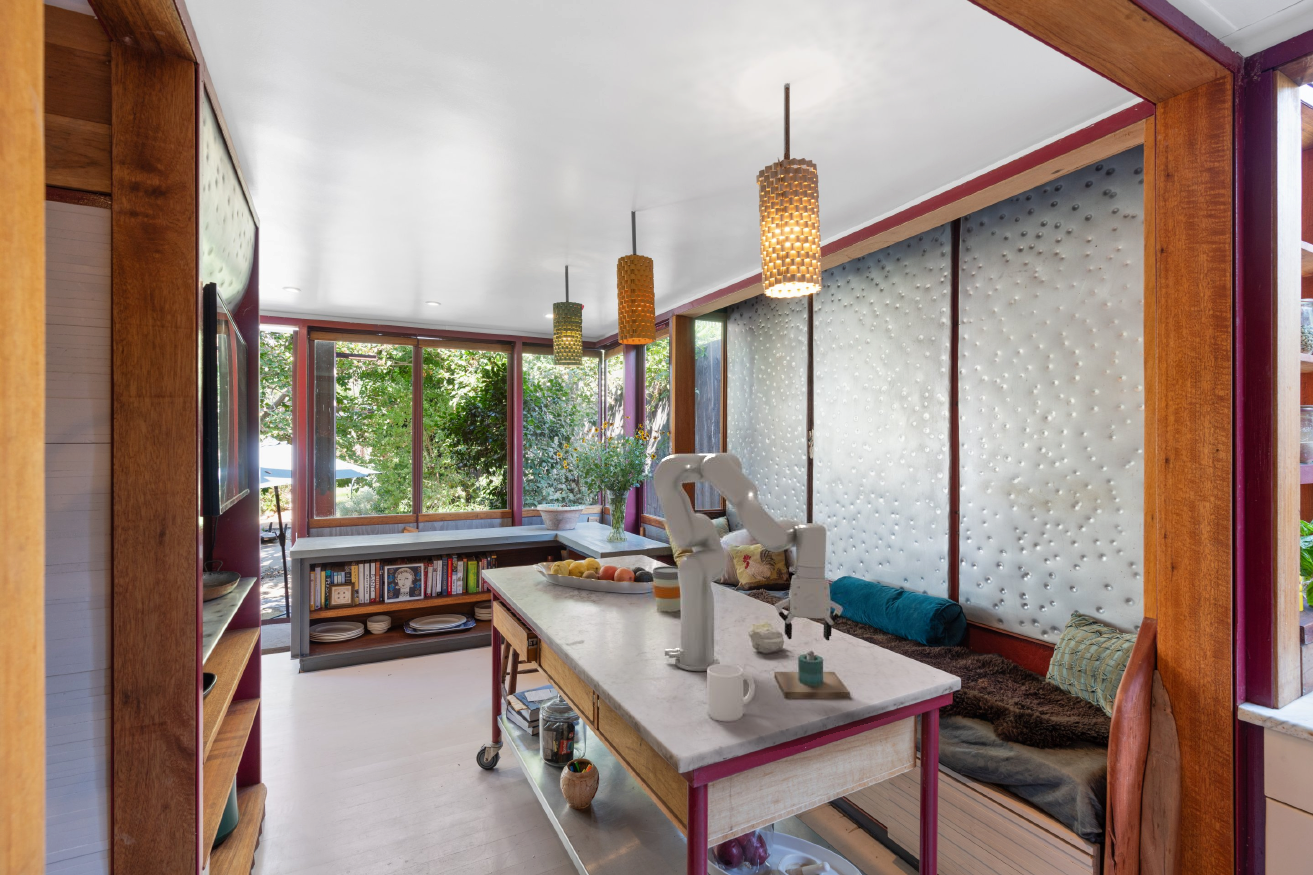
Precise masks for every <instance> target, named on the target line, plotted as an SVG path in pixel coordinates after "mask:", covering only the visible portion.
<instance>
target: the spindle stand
mask: <svg viewBox="0 0 1313 875" xmlns="http://www.w3.org/2000/svg"><path fill="white" fill-rule="evenodd" d="M806 654H807V660H814V655H815V652H814V651H813V650H808V651H807V653H806ZM773 673H774V679H775V681H776V683H777V686H778V687H779V689H780V691H781V693H782V695H783V697H784V699H851V691H850V690H849V689H848V688H847V686H846V685H845V684H844V682H843V681H842V680H841V679H840V677H839V676H838V675H837V673H836V672H835V671H823V684H822V685H818V686H808V685H804V684H802V683H800V682H799V681H798V671H774V672H773Z"/></svg>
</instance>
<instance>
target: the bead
mask: <svg viewBox="0 0 1313 875" xmlns="http://www.w3.org/2000/svg"><path fill="white" fill-rule="evenodd" d="M797 662H798V664H797V665H798V670H797V672H798V681H799V682H800V683H802V684H804V685H808V686H818V685H822V684H823V672H824V658H823V657H822V656H820V655H817V654H814V660H807V653H804V654H801V655H799V656H798V658H797Z"/></svg>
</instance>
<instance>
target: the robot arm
mask: <svg viewBox="0 0 1313 875" xmlns="http://www.w3.org/2000/svg"><path fill="white" fill-rule="evenodd" d="M742 471H743V465H742V462H741V460H740V459H739V458H738V457H737V456H736V455H735V454H733V453H730V452H713V453H675V454H674V453H673V454H670V455H667V456H666V457H664V458H663V459H661V461H660V462H659V463H658V464H657V465H656V468H655V471H654V474H653V487H654V490H655V493H656V495H657V498H658V501H659V504H660V506H661V510H662V513H663V516H664V520H665V523H666V525H667V529H668V532H669V535H670V538H671V540H672V542H673V544H674V545H675V547H677V548H678V549H680V550H689V549H692V552H690V553H688V554H687V555H685V556H684V557H682V558H681V560H680V561H679V563H678V566H677V567H678V580H679V585H680V597H681V608H680V644H679V645H678V647H675V648H674V649H673V648H665V649H664V656H665V657H667V656H668V658H669V659H672V658H675V659H674V664H675V665H676V667H678V668H679V669H682V670H686V671H690V672H691V671H692V672H707V669H708V667H710V666H712V665H716V664H721V663H720V658H719V657H717V656H715V598H714V597H715V596H714V592H713V588H712V583H713V582H716V581H717V580H719V579H721V578H722V577H723V576H724V575H725V574H726V572H727V571H726V570H727V562H728V561H727V558H726V554H725V552H724V548H723V545H722V543H721V540H720V536H719V533H718V531H717V528H716V526H715V524H714V522H713V521H712V519H711V518H710V517H708V516H707V515H706V514H703V513H698V512H697V513H695V510H694V509H693V506H692V503H691V499H690V497H689V495H688V494H687V492H686V491H685V488H683V483H684V484H687V483H709V484H710V485H711V486H712V487H713V488H714V489H715V490H716V491H717V492H718V493H719V494H720V495H721V496H722V498H724V500H726V502H728V503H729V504H730V506H732V508H733V509H734V510H735V513H736V515H737V517H738V519H739V521H740V522H741V525H742V526H743V528H744V529H745V530H746V531H747V533H748V534H749V535H750V536H751V537H752V538H753V539H754V540H755V541H756V542H757V543H758V544H759V545H760V546H762V548H764V549H766V550H767V551H770V552H772V553H778V552H781V551H782V552H783V551H784V550H788V549H791V548H795V558H794V561H795V563H794V565H793V566H789V569H788V570H789V573H793V574H794V575H792V576H791V581H790V585H789V591H788V598H786V599H785V598H784V599H783V600H781V601H779V602H777V603H775V604H774V607H775V609H776V612H777V614H778V615H779V617H780V618H781V619H782V620H783V621H784V635H785V636H786V637H787V639H788V640H792V638H793V624H792V621H793V620H794V619H795V618H796V619H797V618H799V619H824V620H825V621H824V622H823V633H822V634H823V638H824V639H825V640H826V641H827V642H829V641H830V637H832V628H833V625H834V623H835V622H836V621H837V620H838V619H839V618H840V615H841V614H842V612H843V611H844V608H843V607H842V606H841V605H839V604H837V603H836V602H835V601H832V600H831V593H830V592H831V591H830V590H831V589H830V582H829V579H828V578H827V577H826V558H827V557H826V553H827V550H826V549H827V528H826V526H824V525H822V524H819V523H814V522H813V523H811V522H809V523H808V522H807V523H805V522H799V521H795V520H792V519H780V520H775V519H774V518H773V517H772V516H771V515H770V514H769V513H768V512H767V511H766V510H765V509H764V508H763V505H761V502H760V500H759V496H758V493H759V492H758V491H759V489H758V486H757V485H756V484H755V483H753V481H752V480H751V479H749V478H748V477H747V475H745V474H744V473H743V472H742ZM785 607H787V609H788V610H787V611H788V612H787V613H786V614H785V612H783V608H785ZM831 608H833V609H834V612H833V613H831Z"/></svg>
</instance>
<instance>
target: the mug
mask: <svg viewBox="0 0 1313 875" xmlns="http://www.w3.org/2000/svg"><path fill="white" fill-rule="evenodd" d="M706 672H707V673H706V676H707V677H706V681H707V682H706V685H707V687H706V689H707V691H706V692H707V693H706V704H707V705H706V708H707V710H706V711H707V715H708V716H709V717H710V718H711V719H713V720H715V721H718V722H723V723H724V722H725V723H726V722H728V723H729V722H735V721H738V720H740V719H741V718H742V717H743V715H744V705H746V704H748V703H749V702H751V700H752V699H753V697H754V694H755V688H756V686H755V680H754V679H753V677H752V676H751V674H749V673H747V672H744V669H743V668H742V667H740V666H738V665H736V664H731V663H720V664H716V665H712V666H710V667H708V669H707V671H706ZM744 680H746V681H747V683H748V686H749V688H748V692H747V694H746V695H745V697H744Z"/></svg>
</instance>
